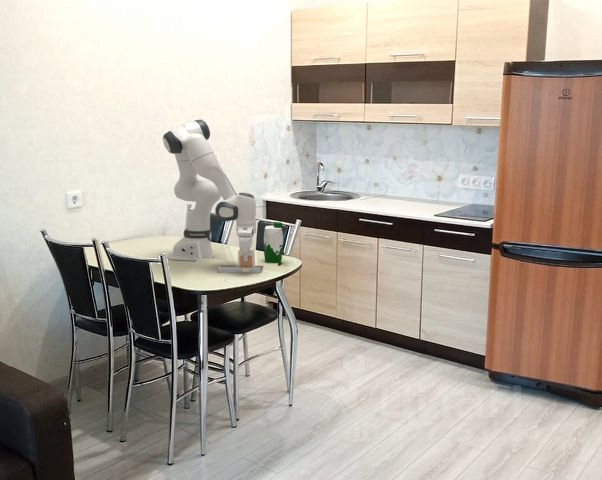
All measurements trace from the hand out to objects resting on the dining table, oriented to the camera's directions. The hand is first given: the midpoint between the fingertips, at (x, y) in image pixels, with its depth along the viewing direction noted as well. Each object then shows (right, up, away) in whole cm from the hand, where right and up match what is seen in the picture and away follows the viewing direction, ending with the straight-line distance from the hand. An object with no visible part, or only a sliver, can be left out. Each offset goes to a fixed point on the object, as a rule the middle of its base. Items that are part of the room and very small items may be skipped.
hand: (246, 259), depth 288 cm
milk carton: (+11, -3, +20) cm, 23 cm away
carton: (0, -5, +1) cm, 5 cm away
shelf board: (-3, -6, +4) cm, 8 cm away
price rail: (-3, -6, -3) cm, 7 cm away
